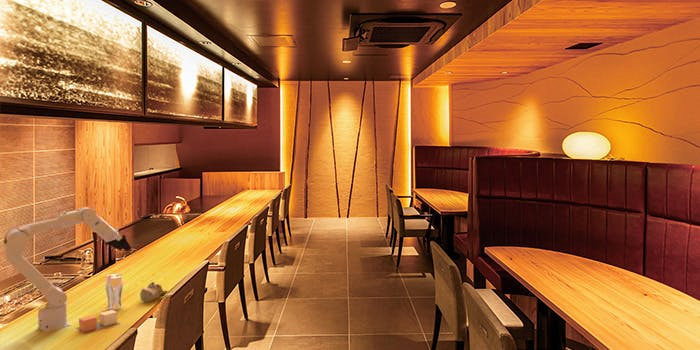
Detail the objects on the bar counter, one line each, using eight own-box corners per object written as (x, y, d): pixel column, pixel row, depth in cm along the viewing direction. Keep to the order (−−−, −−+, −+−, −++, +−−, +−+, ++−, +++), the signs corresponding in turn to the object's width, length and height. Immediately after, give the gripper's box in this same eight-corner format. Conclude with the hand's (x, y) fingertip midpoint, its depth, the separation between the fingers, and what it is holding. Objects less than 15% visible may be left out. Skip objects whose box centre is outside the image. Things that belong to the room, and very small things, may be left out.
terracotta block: (83, 332, 183) (83, 320, 183) (79, 329, 186) (79, 318, 186) (96, 328, 187) (96, 317, 187) (92, 325, 190) (92, 314, 190)
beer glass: (107, 306, 213) (106, 274, 212) (123, 304, 216) (123, 273, 215) (105, 311, 207) (104, 278, 206) (122, 309, 209) (121, 277, 208)
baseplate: (84, 335, 182) (84, 334, 182) (75, 329, 187) (75, 328, 187) (120, 324, 192) (120, 323, 192) (111, 319, 198) (111, 318, 198)
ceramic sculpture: (133, 284, 219) (155, 277, 233) (132, 302, 219) (154, 294, 233) (152, 286, 216) (173, 279, 230) (151, 305, 216) (172, 297, 230)
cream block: (104, 326, 190) (104, 315, 189) (100, 323, 192) (100, 313, 192) (116, 322, 194) (116, 312, 193) (112, 320, 196) (112, 309, 196)
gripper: (116, 222, 197) (139, 243, 203) (103, 221, 206) (125, 241, 213) (104, 234, 193) (127, 255, 199) (90, 233, 202) (113, 253, 209)
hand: (125, 249), depth 206 cm, fingers open, 7 cm apart
